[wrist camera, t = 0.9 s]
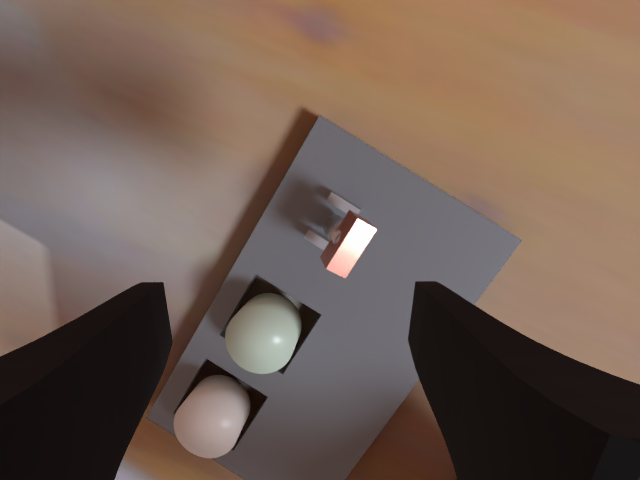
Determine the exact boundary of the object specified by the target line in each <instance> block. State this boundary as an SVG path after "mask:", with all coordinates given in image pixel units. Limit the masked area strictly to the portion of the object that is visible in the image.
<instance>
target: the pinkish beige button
mask: <svg viewBox="0 0 640 480" xmlns="http://www.w3.org/2000/svg"><path fill="white" fill-rule="evenodd" d="M250 409H251V403H250V398H249V395H248V393H247V391H246V389H245V388H244V387H243V386H242V385H241V384H240V383H239V382H238V381H237V380H235V379H233V378H231V377H229V376H225V375H212V376H209V377H206V378H204V379H203V380H202V381H200V382H199V383H198V385H197V386H196V387H195V388H194V390H193V391H192V392H191V393H190V395H189V396H188V397H187V398H186V400H185V401H184V402H183V403H182V405H181V406H180V407H179V409H178V410H177V412H176V414H175V417H174V431H175V434H176V437H177V439H178V441H179V442H180V444H181V445H182V446H183V447H184V448H185V449H186V450H187V451H189V452H190V453H192V454H194V455H196V456H199V457H203V458H217V457H220V456H223V455H225V454H226V453H228V452H229V451H230V450H231V449H232V448H233V446H234V445H235V443H236V441H237V439H238V437H239V435H240V432H241V430H242V428H243V426H244V424H245V422H246V420H247V418H248V416H249V413H250Z"/></svg>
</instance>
